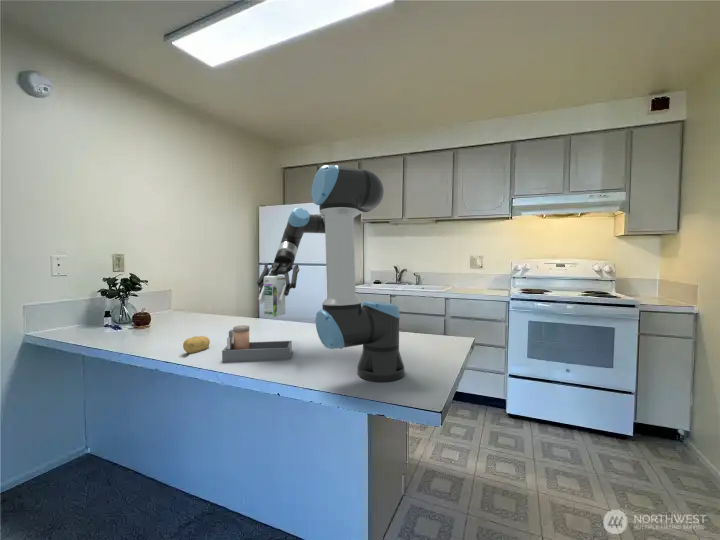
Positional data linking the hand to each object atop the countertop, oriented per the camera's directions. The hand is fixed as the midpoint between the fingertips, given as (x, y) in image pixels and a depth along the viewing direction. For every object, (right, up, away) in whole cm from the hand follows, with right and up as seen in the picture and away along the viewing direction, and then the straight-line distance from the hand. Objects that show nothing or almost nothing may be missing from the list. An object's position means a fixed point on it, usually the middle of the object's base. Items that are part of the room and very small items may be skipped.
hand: (270, 301), depth 121 cm
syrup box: (0, -6, +4) cm, 7 cm away
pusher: (-15, -20, +2) cm, 25 cm away
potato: (-32, -21, +12) cm, 40 cm away
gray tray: (-5, -21, +3) cm, 22 cm away
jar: (-11, -20, +2) cm, 23 cm away
